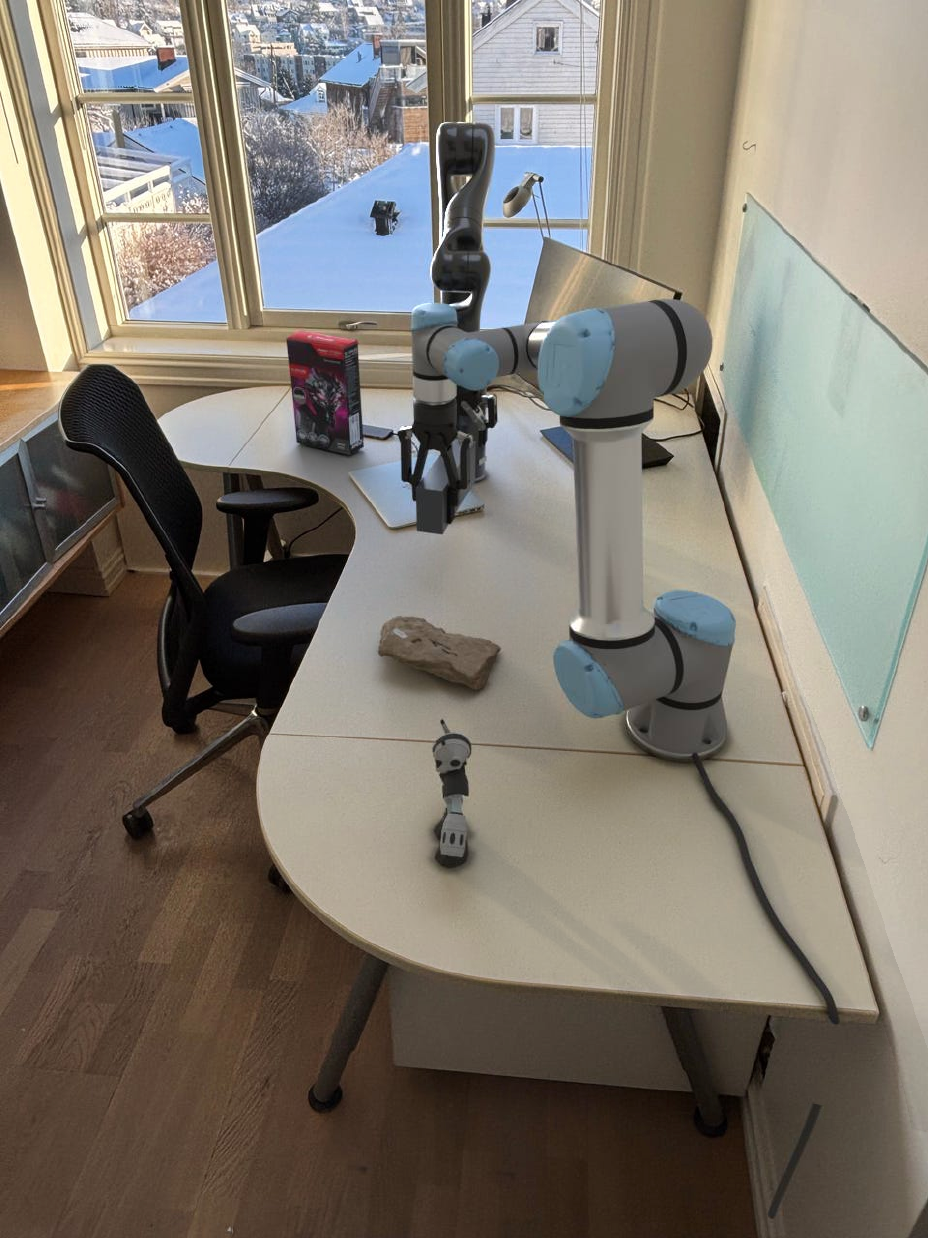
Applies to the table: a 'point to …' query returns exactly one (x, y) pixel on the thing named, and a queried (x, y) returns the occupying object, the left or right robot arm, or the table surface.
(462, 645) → the stone
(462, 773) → the robot
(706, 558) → the table surface
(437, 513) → the bar
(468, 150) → the left robot arm
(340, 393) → the graphics card box
